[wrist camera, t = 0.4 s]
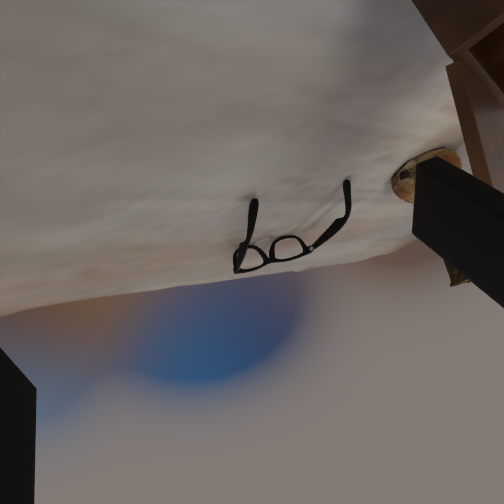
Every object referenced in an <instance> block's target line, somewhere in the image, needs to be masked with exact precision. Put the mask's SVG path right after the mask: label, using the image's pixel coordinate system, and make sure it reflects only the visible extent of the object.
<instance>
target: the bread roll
mask: <svg viewBox="0 0 504 504" xmlns="http://www.w3.org/2000/svg"><path fill="white" fill-rule="evenodd" d="M435 156H439V157H441V158H442V159H444V160H446V161H448V162H449V163H451V164H453V165H455V166H456V167H458V168H460V169H462V163H461V159H460V157H459V156H458V155H457V154H456V152H455V151H454V150H450V149H447V148H445V147H442V148H440V149H437V150H432V151H429V152H426V153H423V154H421V155H419V156H418V157H416V158H415V159H412V160H409V161H408V163H406V165H405V166H403V167H402V168H401V169H400V170H399V171H398V172H397V174H396V175H395V176H393V178H392V181H391V184H392V189H393V191H394V193H395V194H396V195H397V196H398V197H399V198H400V199H402V200H404V201H405V202H408V203H414V194H415V177H416V164H417V163H419V162H422V161H425V160H427V159H430V158H432V157H435Z"/></svg>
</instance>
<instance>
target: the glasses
mask: <svg viewBox="0 0 504 504" xmlns="http://www.w3.org/2000/svg"><path fill="white" fill-rule="evenodd" d="M343 191H344V197H345V206H346V212H345V215H344V217H342V218H338V219H336V220H335V221H334V222H333V223H332V225H331V226H330V227H329V228H328V229H327V230H326V231H325V232H324V233H323V234H322V235H321V236H320V237H319V238H318V239H317V240H316V242H315V243H314V244H313V245H312V246H311V245H310V246H308V247H307V246H306V245H305V243H304V242H303V241H302V240H301V239H300V238H299V237H297V236H294V235H288V236H283V237H280V238H278V239H276V240H275V241H274V242H273V243H272V244H271V247H270V250H269V258H268V257H267V255H266V254H265V253H264V252H263V251H262V250H261V249H260V248H258V247H257V246H253V245H249V243H250V240H251V237H252V234H253V231H254V227H255V222H256V218H257V212H258V205H259V203H258V199H253V200H252V201H251V203H250V206H249V214H248V228H247V237H246V240H245V241H244V242H241V243H240V246H239V249H237V250H236V251H235V252H234V255H233V265H234V268H233V271H234V274H238V273H246V272H251V271H254V270H257V269H259V268H261V267H263V266H265V265H267V264H270V263H274V262H286V261H290V260H294V259H297V258H300V257H302V256H305V255H307V254H309V253H311V252H312V251H313V250H314V249H316V248H317V247H319V246H320V245H322V244H323V243H324V242H326V241H327V240H328V239H330V238H331V237H332V236H333V235H335V234H336V233H337V232H338V231H339V230H340V229H341V228H342V227H343V226H344V224H345V223H346V221H347V220H348V218H349V215H350V212H351V185H350V181H349V180H345V181H344V182H343ZM286 238H296V239H297V240H298V241H299V242H300V244H301V246H302V248H303V252H302V253H301V254H299V255H297V256H294V257H291V258H287V259H276V258H275V253H274V248H275V244H276V243H277V242H278V241H280V240H282V239H286ZM247 248H252V249H255V250H257V251H258V252H259V254H260V255H261V257H262V258H263V261H264V262H263V264H262V265H260V266H257V267H254V268H250V269H241V268H240V266H241V264H242V262H243V259H244V257H245V254H246V251H247ZM237 253H238V256H237Z"/></svg>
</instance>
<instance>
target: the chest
mask: <svg viewBox="0 0 504 504" xmlns="http://www.w3.org/2000/svg"><path fill="white" fill-rule="evenodd" d="M412 1H413V3H414V4H415V6H416V8H417V9H418V11H419V12H420V14H421V15H422V17H423V18H424V20H425V21H426V23H427V24H428V26H429V27H430V29H431V30H432V32H433V33H434V35H435V37H436V38H437V40H438V41H439V43H440V44H441V46H442V47H443V49H444V50H445V52H446V53H447V55H448V56H449V57H450V58H451V59H452V60H453V62H456V61H458V60H461V62H462V63H463V64H464V65H465V66H466V67H467V68H468V69H469V70H470V72H471V73H472V74H473V75H474V76H475V77H476V78H477V79H478V81H479V82H480V83H481V84H482V85H483V86H484V87H485V88H486V90H487V91H488V92H489V93H490V94H491V95H492V96H493V97H494V98H495V100H496V101H497V102H498V103H499V104H500V105H501V106H502V107H503V109H504V0H412Z"/></svg>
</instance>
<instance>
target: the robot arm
mask: <svg viewBox="0 0 504 504" xmlns="http://www.w3.org/2000/svg"><path fill="white" fill-rule="evenodd" d="M412 234H414V235H415V236H416V237H417V238H419V239H420V240H421V241H422V242H424V243H425V244H426V245H427V246H428V247H430V248H431V249H432V250H433V251H435V252H436V253H437V254H438V255H439V256H441V257H442V258H443V259H444V260H445V261H447V262H448V263H449V264H450V265H452V266H453V267H454V268H455V269H456V270H458V271H459V272H460V273H461V274H463V275H464V276H465V277H466V278H467V279H469V280H470V281H471V282H472V283H474V284H475V285H476V286H477V287H479V288H480V289H481V290H482V291H483V292H485V293H486V294H487V295H488V296H489V297H491V298H492V299H493V300H494V301H496V302H497V303H498V304H499V305H501V306H502V307H503V308H504V193H502V192H501V191H499V190H497V189H495V188H493V187H492V186H490V185H488V184H486V183H485V182H483V181H481V180H479V179H478V178H476V177H474V176H472V175H471V174H469V173H467V172H465V171H464V170H462V169H460V168H458V167H456V166H455V165H453V164H451V163H449V162H448V161H446V160H444V159H442V158H441V157H439V156H435V157H432V158H430V159H427V160H425V161H422V162H419V163H417V164H416V177H415V194H414V210H413V226H412ZM36 390H37V389H36V388H35V386H34V385H33V384H32V383H31V382H30V381H29V380H28V379H27V377H26V376H25V375H24V374H23V373H22V372H21V371H20V370H19V368H18V367H17V366H16V365H15V364H14V363H13V362H12V360H11V359H10V358H9V357H8V356H7V355H6V354H5V352H4V351H3V350H2V349H1V348H0V504H34V484H35V438H36V437H35V436H36V435H35V434H36Z"/></svg>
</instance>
